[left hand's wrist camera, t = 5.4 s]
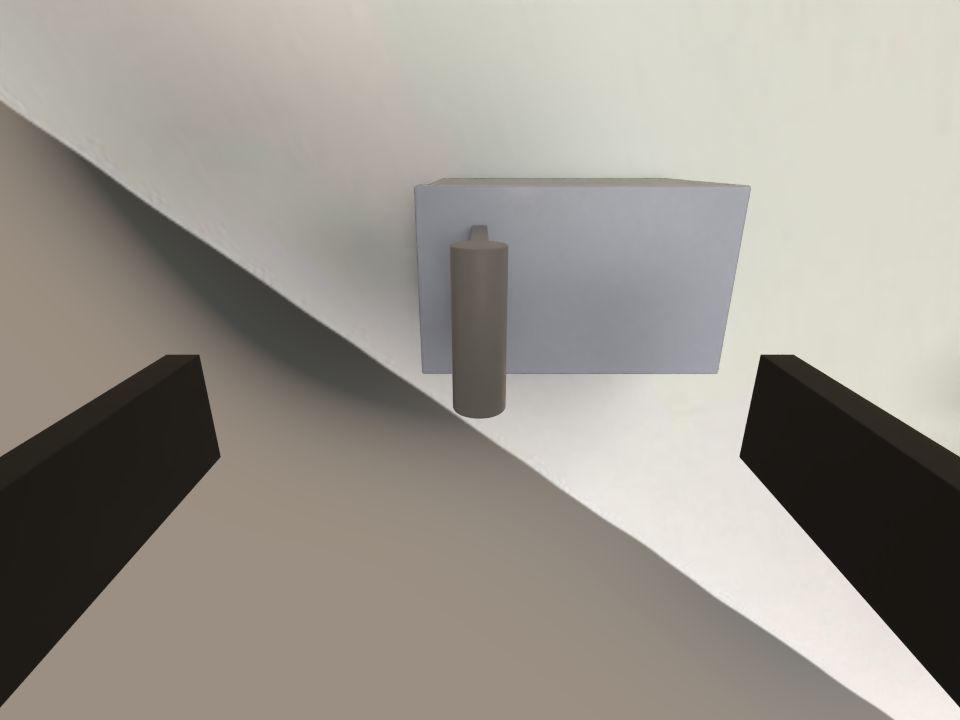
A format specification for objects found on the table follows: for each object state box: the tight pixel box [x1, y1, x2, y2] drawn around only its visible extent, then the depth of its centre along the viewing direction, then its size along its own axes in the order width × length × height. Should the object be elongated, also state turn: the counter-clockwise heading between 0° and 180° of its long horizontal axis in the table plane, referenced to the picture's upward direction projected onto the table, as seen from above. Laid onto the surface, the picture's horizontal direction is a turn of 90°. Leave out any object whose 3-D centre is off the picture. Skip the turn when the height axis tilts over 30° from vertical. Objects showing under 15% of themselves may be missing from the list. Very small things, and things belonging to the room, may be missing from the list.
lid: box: [414, 185, 751, 418], centre depth 21 cm, size 15×9×9 cm, turn 90°
